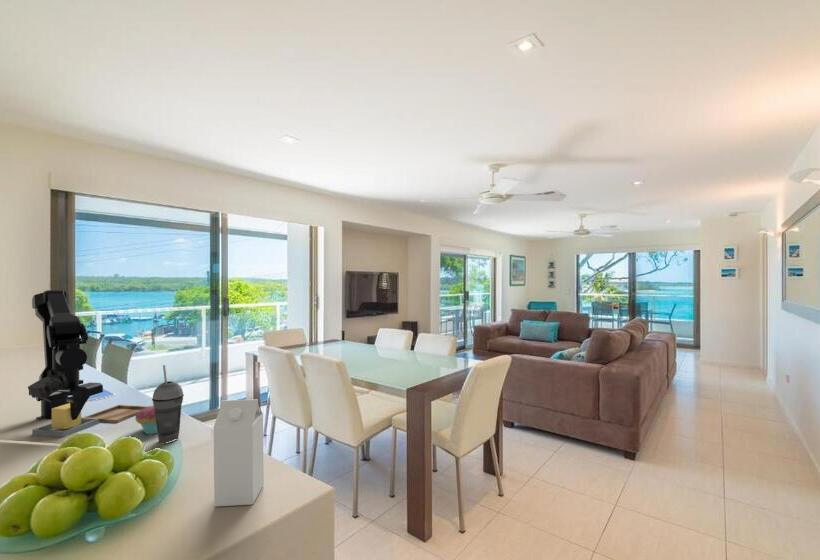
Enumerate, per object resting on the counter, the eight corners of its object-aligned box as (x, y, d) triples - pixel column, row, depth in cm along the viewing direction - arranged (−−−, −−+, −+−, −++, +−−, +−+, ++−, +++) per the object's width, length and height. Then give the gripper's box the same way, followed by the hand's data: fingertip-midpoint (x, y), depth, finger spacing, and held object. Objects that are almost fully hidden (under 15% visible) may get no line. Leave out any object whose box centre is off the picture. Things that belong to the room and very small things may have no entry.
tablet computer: (58, 396, 148) (58, 393, 148) (100, 388, 158) (100, 385, 158) (73, 406, 136) (72, 402, 136) (116, 397, 146) (116, 393, 146)
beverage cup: (169, 447, 101) (168, 369, 101) (145, 444, 102) (144, 367, 102) (190, 435, 108) (189, 363, 108) (167, 433, 109) (167, 362, 109)
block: (51, 428, 110) (51, 408, 110) (68, 422, 115) (68, 403, 115) (65, 429, 110) (65, 409, 110) (81, 423, 114) (81, 404, 114)
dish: (32, 437, 108) (32, 429, 108) (70, 423, 118) (69, 416, 118) (63, 439, 106) (63, 431, 106) (99, 425, 116) (99, 418, 116)
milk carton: (228, 487, 81) (227, 395, 81) (263, 485, 82) (263, 394, 81) (214, 507, 74) (213, 406, 74) (253, 505, 74) (252, 405, 74)
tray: (82, 422, 119) (82, 417, 119) (118, 409, 131) (118, 404, 131) (117, 424, 117) (117, 420, 117) (151, 410, 129) (151, 406, 129)
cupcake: (178, 427, 114) (178, 386, 114) (150, 438, 106) (150, 394, 106) (156, 424, 117) (156, 383, 117) (128, 435, 109) (127, 391, 109)
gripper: (6, 369, 106) (6, 428, 106) (64, 372, 103) (65, 431, 103) (50, 361, 117) (50, 413, 117) (104, 363, 114) (104, 417, 114)
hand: (66, 419), depth 112 cm, fingers open, 5 cm apart
